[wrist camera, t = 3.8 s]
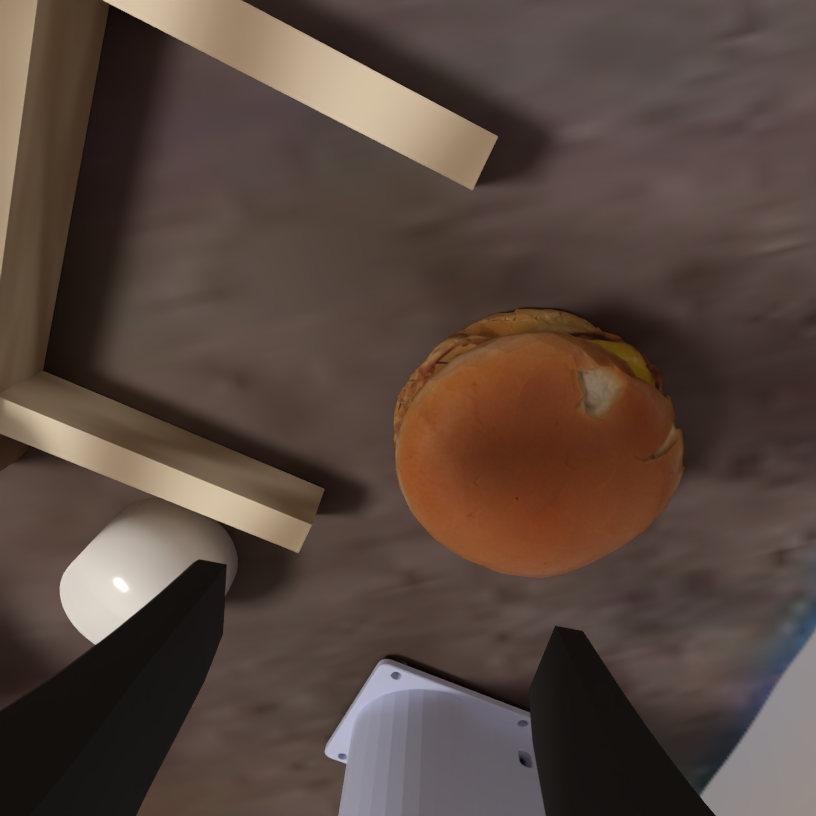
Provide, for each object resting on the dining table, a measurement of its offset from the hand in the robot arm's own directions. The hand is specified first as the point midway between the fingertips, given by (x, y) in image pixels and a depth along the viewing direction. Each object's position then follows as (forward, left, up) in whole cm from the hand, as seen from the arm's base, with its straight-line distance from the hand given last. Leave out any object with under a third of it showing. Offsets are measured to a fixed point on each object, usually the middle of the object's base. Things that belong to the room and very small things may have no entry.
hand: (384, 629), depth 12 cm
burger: (-4, -2, -11) cm, 12 cm away
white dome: (+7, +11, -10) cm, 17 cm away
